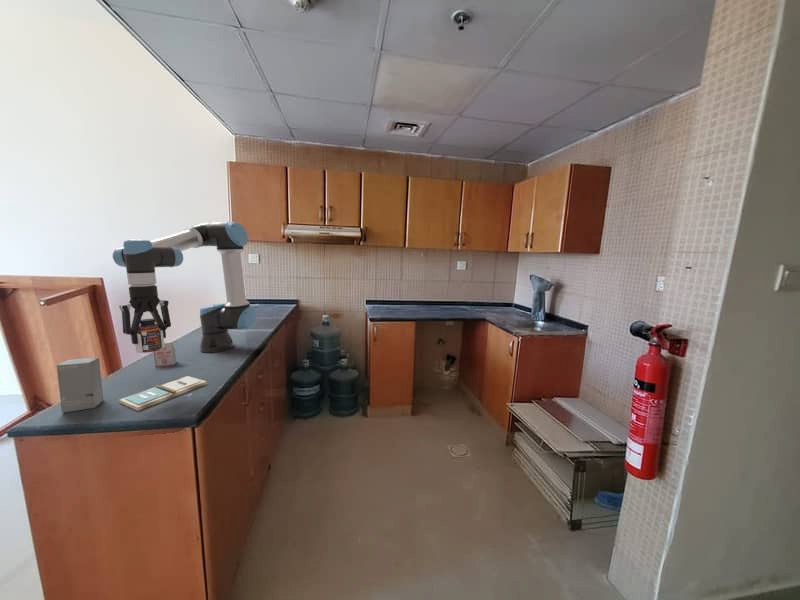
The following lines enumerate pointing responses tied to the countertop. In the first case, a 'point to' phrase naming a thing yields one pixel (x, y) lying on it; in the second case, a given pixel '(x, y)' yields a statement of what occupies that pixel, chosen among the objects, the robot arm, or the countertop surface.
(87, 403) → the skincare box
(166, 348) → the white product box
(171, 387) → the cream pad
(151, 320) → the supplement bottle
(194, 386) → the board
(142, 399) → the teal pad
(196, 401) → the countertop surface
